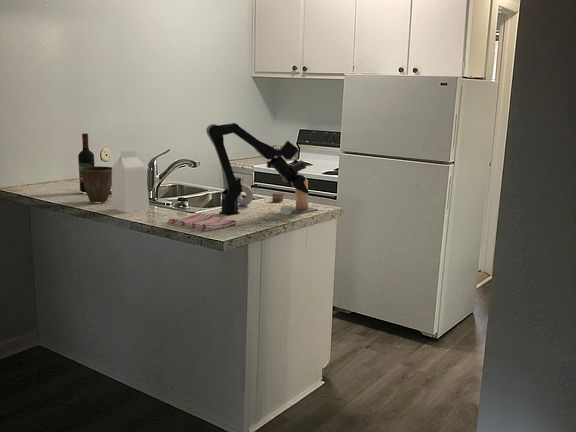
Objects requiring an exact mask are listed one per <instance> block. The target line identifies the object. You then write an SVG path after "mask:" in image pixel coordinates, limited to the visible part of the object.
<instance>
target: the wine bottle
mask: <svg viewBox="0 0 576 432" xmlns="http://www.w3.org/2000/svg"><path fill="white" fill-rule="evenodd" d="M81 138H82V150H81V151H80V152H79V153H78V156H77V159H78V176H79V177H78V178H79V179H78V180H79V192H80V191H82V192H86V190H85V187H84V183H83V179H82V175H81V168H84V167H96V166H95V165H96V164H95V154H94V152H92V151H91V150H90V148H89V133H85V132H84V133H81Z"/></svg>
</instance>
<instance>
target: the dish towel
mask: <svg viewBox="0 0 576 432" xmlns="http://www.w3.org/2000/svg"><path fill="white" fill-rule="evenodd" d="M167 222H169V224H172V223H173V225H176V226H181V227H182V226H183V227H185V228H189V229H192V230H195V231H201V232H209V231H212V230H219V229H223V227H224V228H227V227H232V226H235V225H236V223H237V220H236V219H230V218H229V219H228V218H222V217H219V216H213V215H211V214H208V213H203V212H198V213H195V214H190V215H187V216H186V215H184V216H181V217H177V218H169V219H167Z"/></svg>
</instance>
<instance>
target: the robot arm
mask: <svg viewBox="0 0 576 432" xmlns="http://www.w3.org/2000/svg"><path fill="white" fill-rule="evenodd" d="M229 134H234V135H236V136H237V137H238V138H240V139H241V140H243V141H244V142H245V143H247V144H248V145H250V146H251V147H253V149H255V151H256V152H257V153H258V154H259V155H260V156H261V157H262V158H264V159H267V161H266V167H267V169H270V168H274V170H275V171H276V172H278V174H279V175H280V176H281V180H282V181H283V182H284V183H285V184H286V185H289V186H290V187H293V188H294V189H295V188H296V189H298V190H300V191H302V192H305V193H307V194H308V195H309V188H308V189H307V188H306V186H305V184H304V180H305V179H306V178H307V177H306V176H304V175H303V174H299V172H300V171H302V170H305V169H306V168H307V167H306V164H305V161H304V160H302V159H301V160H298V159H293V158H294V157H295V156H296V155H297V153H299V152H300V151H299V149H298V148H297V146H295V145H294V144H293V143H291V142H290V141H289V140H286V141H285V142H284V144H283V145H282V146H281V147H280V148H275V147H274V146H272V145H269V144H267V143H265V142H263V141H261V140H259V139H257V138H256V137H255V136H253V135H252V134H251V133H249V132H248V131H246V130H245V129H244V128H242V127H241V126H240V125H239V124H237V123H235V122H231V123H227V124H219V125H218V124H215V123H212V124H209V125H208V126H207V127H206V135H207V136H208V138H209V140H210V141H211V143H212V145H213V147H214V150H215V151H216V155H217V159H218V161H219V165H220V166H221V170H222V173H223V175H224V183H225V184H224V185H225V189H223V191H222V192H221V193H220V195H221V197H222V199H221V211H219V214H223V215H227V216H230V215H237V214H240V211H239V204H238V202H237V198H238V196H239V195H240V194H241V195H242V193H243V192H242V188H241V187H243V186H242V183H241V177H238V176H236V175H235V174H234V171H233V168H232V165H231V162H230V159H229V157H228V153H227V150H226V147H225V144H224V141H225V139H224V136H226V135H229ZM292 159H293V160H292ZM289 160H290V161H291V160H292V164H289V163H288V162H287V161H289Z"/></svg>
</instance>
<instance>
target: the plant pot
mask: <svg viewBox="0 0 576 432" xmlns="http://www.w3.org/2000/svg"><path fill="white" fill-rule="evenodd" d="M112 167H113V166H112ZM112 167H111V166H95V167H84V168H81V175H82V179H83V183H84V187H85V190H86V193H87V194H86V195H87V197H88V198H87V199H88V200H89V202H90V201H91V202H105V201H107V202H108V199H109V197H110V194H111V191H112ZM91 202H90V203H91Z"/></svg>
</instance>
